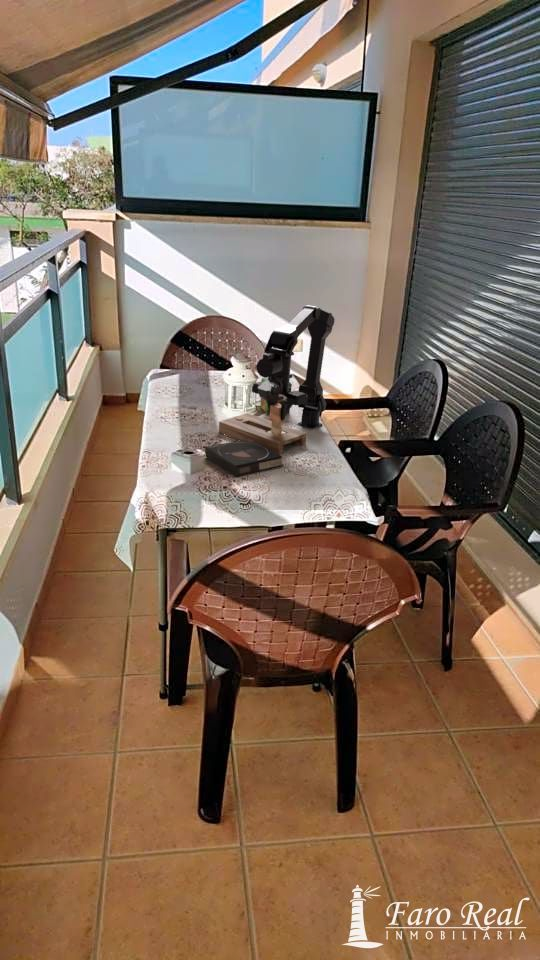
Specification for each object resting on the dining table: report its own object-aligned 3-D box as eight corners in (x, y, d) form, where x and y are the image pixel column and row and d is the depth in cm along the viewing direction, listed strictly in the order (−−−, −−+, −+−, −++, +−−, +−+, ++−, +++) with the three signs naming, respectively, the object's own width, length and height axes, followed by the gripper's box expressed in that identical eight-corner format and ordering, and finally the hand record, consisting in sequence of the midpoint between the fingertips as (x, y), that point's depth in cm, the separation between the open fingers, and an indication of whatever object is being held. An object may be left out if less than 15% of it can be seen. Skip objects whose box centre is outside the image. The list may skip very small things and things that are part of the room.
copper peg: (275, 433, 221) (277, 402, 217) (285, 436, 218) (288, 406, 214) (266, 436, 218) (268, 405, 214) (276, 439, 215) (279, 408, 211)
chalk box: (282, 406, 257) (285, 368, 251) (290, 413, 249) (293, 374, 243) (259, 407, 254) (261, 368, 248) (266, 414, 246) (269, 375, 240)
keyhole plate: (246, 424, 235) (247, 412, 233) (305, 444, 220) (306, 432, 218) (218, 432, 225) (219, 420, 223) (278, 454, 210) (279, 442, 208)
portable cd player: (235, 479, 192) (236, 466, 190) (205, 459, 204) (205, 446, 203) (281, 469, 201) (282, 456, 199) (249, 450, 213) (250, 438, 212)
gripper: (241, 368, 209) (239, 416, 215) (287, 382, 198) (284, 432, 205) (264, 363, 217) (261, 409, 223) (310, 376, 206) (306, 424, 213)
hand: (277, 418), depth 216 cm, fingers closed on copper peg, 4 cm apart
